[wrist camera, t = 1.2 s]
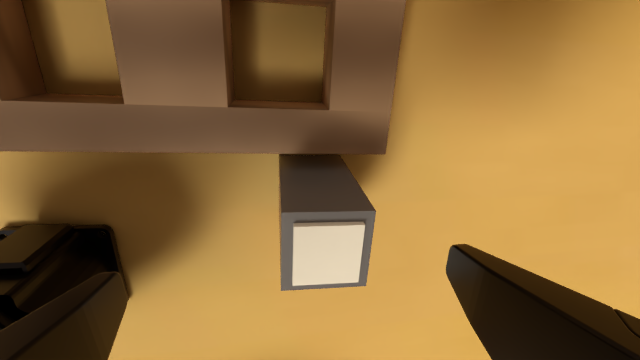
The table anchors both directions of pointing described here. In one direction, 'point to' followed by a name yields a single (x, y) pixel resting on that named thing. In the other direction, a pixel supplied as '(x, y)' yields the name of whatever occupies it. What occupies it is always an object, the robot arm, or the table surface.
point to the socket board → (203, 85)
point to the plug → (322, 224)
